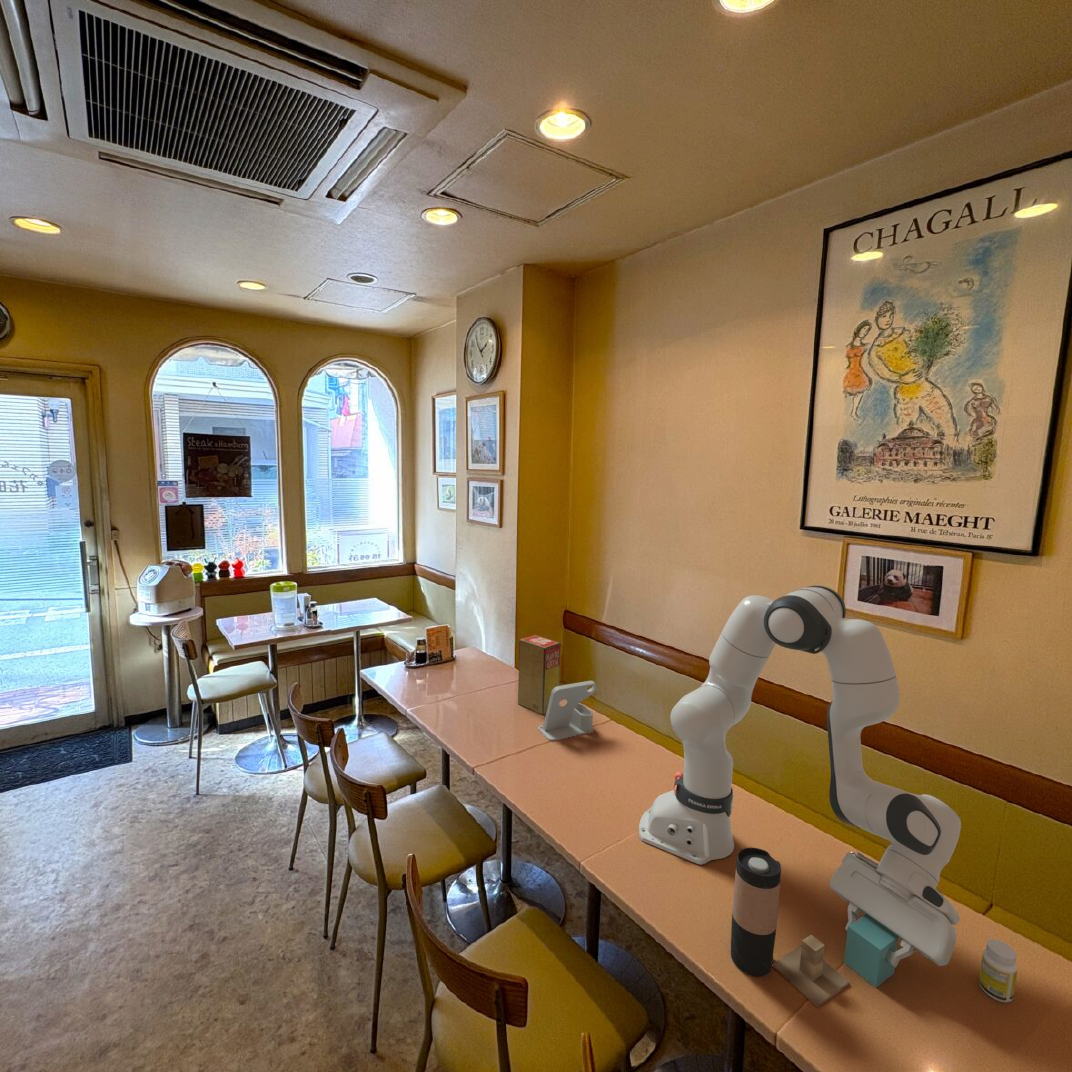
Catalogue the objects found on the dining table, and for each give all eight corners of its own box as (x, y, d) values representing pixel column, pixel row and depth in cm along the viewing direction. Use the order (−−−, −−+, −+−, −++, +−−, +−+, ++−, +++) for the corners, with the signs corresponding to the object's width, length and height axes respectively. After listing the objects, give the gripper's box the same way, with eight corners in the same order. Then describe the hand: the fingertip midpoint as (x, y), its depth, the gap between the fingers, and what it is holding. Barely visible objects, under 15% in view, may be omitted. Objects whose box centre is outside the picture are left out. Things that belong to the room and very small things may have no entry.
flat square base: (772, 966, 103) (775, 934, 103) (803, 945, 108) (806, 915, 107) (818, 1007, 96) (821, 973, 95) (849, 983, 100) (852, 951, 99)
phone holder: (580, 719, 200) (582, 670, 198) (595, 732, 191) (597, 681, 188) (536, 728, 193) (537, 678, 190) (550, 742, 183) (551, 689, 181)
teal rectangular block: (844, 962, 105) (848, 926, 104) (862, 949, 108) (866, 913, 106) (875, 988, 100) (880, 950, 99) (893, 973, 103) (898, 936, 102)
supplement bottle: (997, 978, 102) (1003, 936, 101) (1020, 1003, 97) (1027, 960, 96) (971, 978, 102) (977, 937, 101) (993, 1003, 97) (999, 960, 96)
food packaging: (560, 707, 209) (561, 642, 205) (542, 715, 202) (544, 648, 199) (533, 696, 218) (535, 634, 214) (516, 704, 211) (517, 639, 208)
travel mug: (728, 969, 103) (735, 869, 100) (729, 937, 110) (737, 842, 107) (773, 984, 100) (782, 881, 97) (772, 949, 107) (781, 853, 104)
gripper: (844, 840, 114) (810, 902, 110) (961, 911, 96) (924, 987, 93) (855, 853, 117) (822, 914, 113) (970, 924, 99) (935, 999, 95)
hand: (869, 948), depth 103 cm, fingers closed on teal rectangular block, 6 cm apart
